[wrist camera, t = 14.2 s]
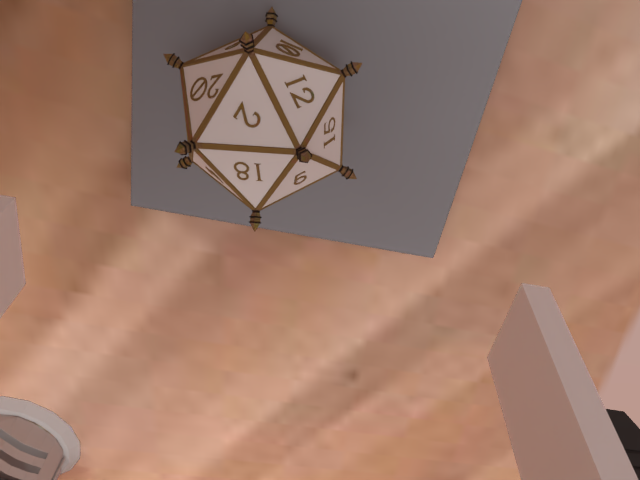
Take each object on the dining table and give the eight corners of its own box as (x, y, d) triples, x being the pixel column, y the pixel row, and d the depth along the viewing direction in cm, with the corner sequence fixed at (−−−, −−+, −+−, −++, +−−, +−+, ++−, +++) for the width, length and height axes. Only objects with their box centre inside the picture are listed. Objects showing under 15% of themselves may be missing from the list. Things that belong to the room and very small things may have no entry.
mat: (137, -164, 25) (133, -165, 25) (545, -78, 26) (548, -77, 26) (133, 201, 35) (130, 205, 35) (432, 253, 36) (433, 258, 36)
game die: (268, 150, 34) (120, 213, 27) (263, -9, 30) (86, 20, 23) (402, 195, 29) (262, 285, 23) (419, 14, 25) (253, 59, 18)
